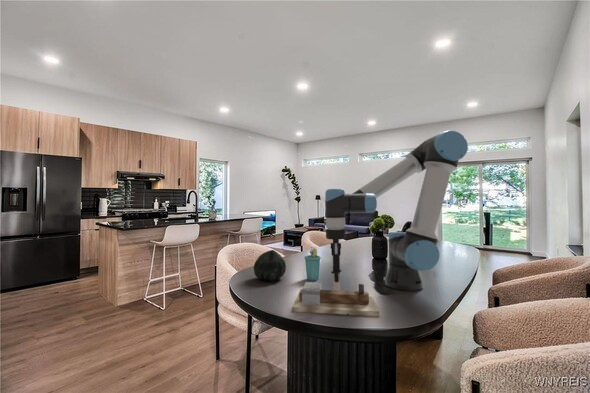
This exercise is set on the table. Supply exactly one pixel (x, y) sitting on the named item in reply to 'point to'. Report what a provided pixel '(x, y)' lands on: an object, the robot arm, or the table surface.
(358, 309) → the pintle board
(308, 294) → the block
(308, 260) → the cup
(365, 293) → the wooden bar with peg
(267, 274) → the squash
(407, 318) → the table surface
